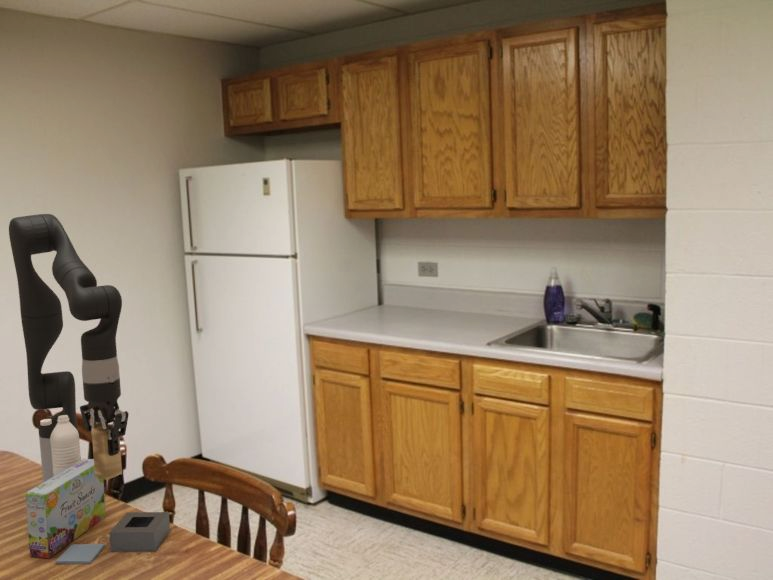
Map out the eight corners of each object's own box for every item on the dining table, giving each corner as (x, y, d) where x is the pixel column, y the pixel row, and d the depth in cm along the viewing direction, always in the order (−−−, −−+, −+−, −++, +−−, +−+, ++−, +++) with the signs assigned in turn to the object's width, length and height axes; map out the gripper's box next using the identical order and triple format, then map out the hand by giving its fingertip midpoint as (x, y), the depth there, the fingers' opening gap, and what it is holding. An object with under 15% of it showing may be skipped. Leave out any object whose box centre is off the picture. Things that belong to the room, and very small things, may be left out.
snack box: (51, 559, 156) (45, 494, 154) (28, 557, 157) (22, 492, 155) (107, 516, 176) (103, 458, 174) (87, 515, 177) (82, 456, 175)
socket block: (128, 530, 169) (126, 512, 168) (170, 530, 168) (168, 512, 168) (110, 551, 159) (109, 532, 158) (155, 551, 158) (154, 532, 158)
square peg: (95, 476, 158) (91, 428, 157) (110, 470, 161) (107, 423, 160) (106, 480, 156) (103, 431, 154) (122, 473, 159) (118, 426, 158)
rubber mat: (72, 546, 161) (71, 544, 161) (104, 546, 161) (104, 544, 161) (56, 563, 154) (55, 561, 154) (90, 563, 154) (90, 561, 153)
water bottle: (76, 504, 183) (68, 410, 180) (90, 511, 179) (82, 414, 176) (42, 516, 177) (34, 419, 173) (56, 524, 173) (47, 424, 169)
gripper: (65, 377, 156) (71, 452, 158) (107, 385, 149) (113, 464, 151) (95, 369, 162) (100, 442, 165) (137, 377, 155) (142, 453, 157)
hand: (106, 452), depth 158 cm, fingers closed on square peg, 4 cm apart
